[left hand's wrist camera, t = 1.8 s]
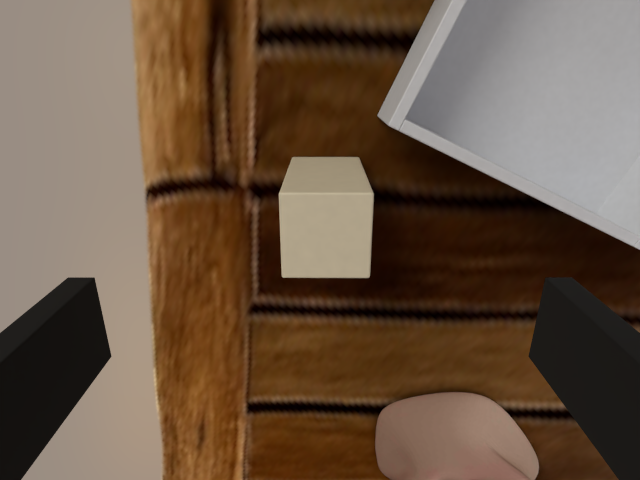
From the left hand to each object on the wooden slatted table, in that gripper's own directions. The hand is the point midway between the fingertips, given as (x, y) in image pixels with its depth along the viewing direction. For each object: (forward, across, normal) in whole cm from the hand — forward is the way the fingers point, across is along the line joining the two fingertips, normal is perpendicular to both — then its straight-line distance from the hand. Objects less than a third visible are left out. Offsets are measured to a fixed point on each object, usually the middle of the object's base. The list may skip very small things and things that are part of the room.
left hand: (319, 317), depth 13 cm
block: (+14, 0, 0) cm, 14 cm away
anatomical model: (+14, -10, +21) cm, 27 cm away
